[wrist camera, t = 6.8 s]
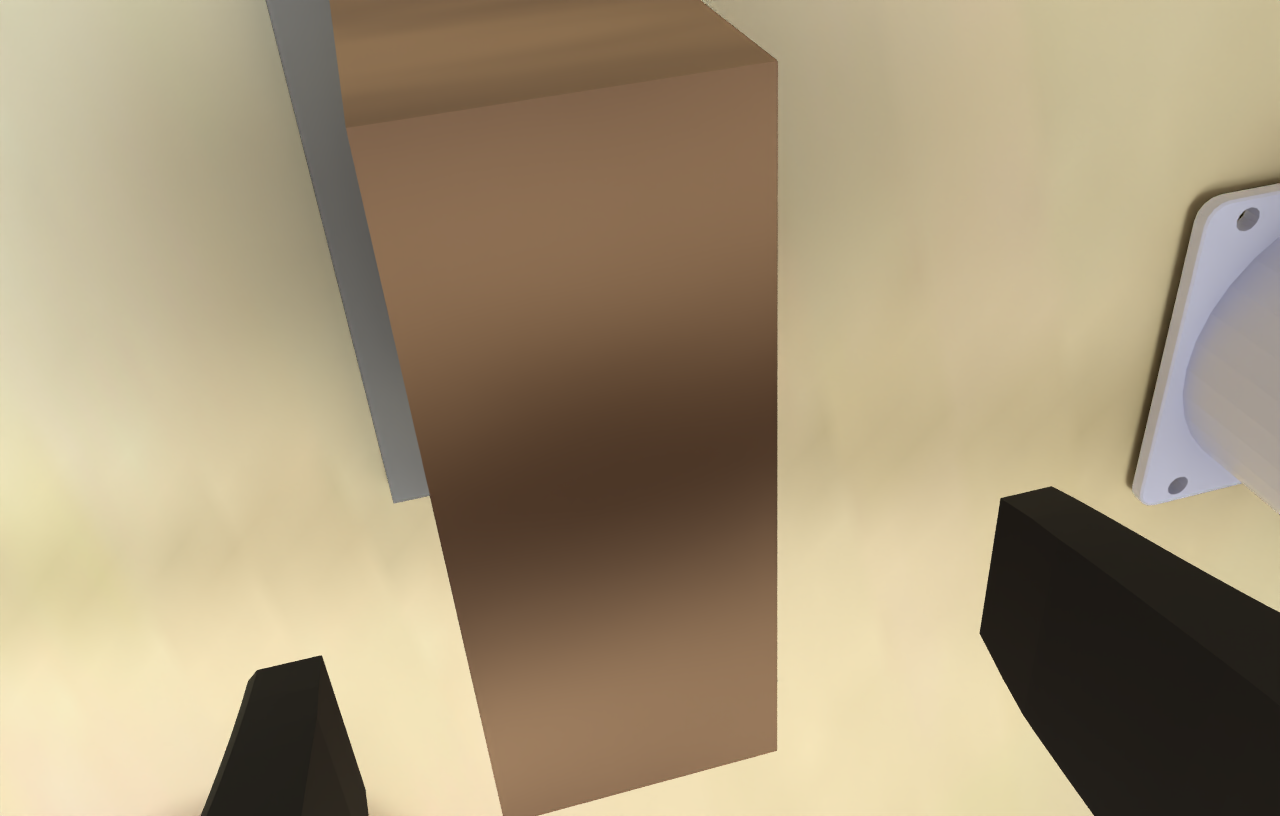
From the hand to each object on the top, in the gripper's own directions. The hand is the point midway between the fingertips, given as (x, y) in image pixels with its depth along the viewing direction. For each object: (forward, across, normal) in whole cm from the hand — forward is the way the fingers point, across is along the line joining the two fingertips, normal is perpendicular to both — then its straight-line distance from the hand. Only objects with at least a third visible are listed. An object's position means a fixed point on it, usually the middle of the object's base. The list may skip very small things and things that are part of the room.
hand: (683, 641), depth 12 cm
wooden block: (+7, 0, 0) cm, 7 cm away
